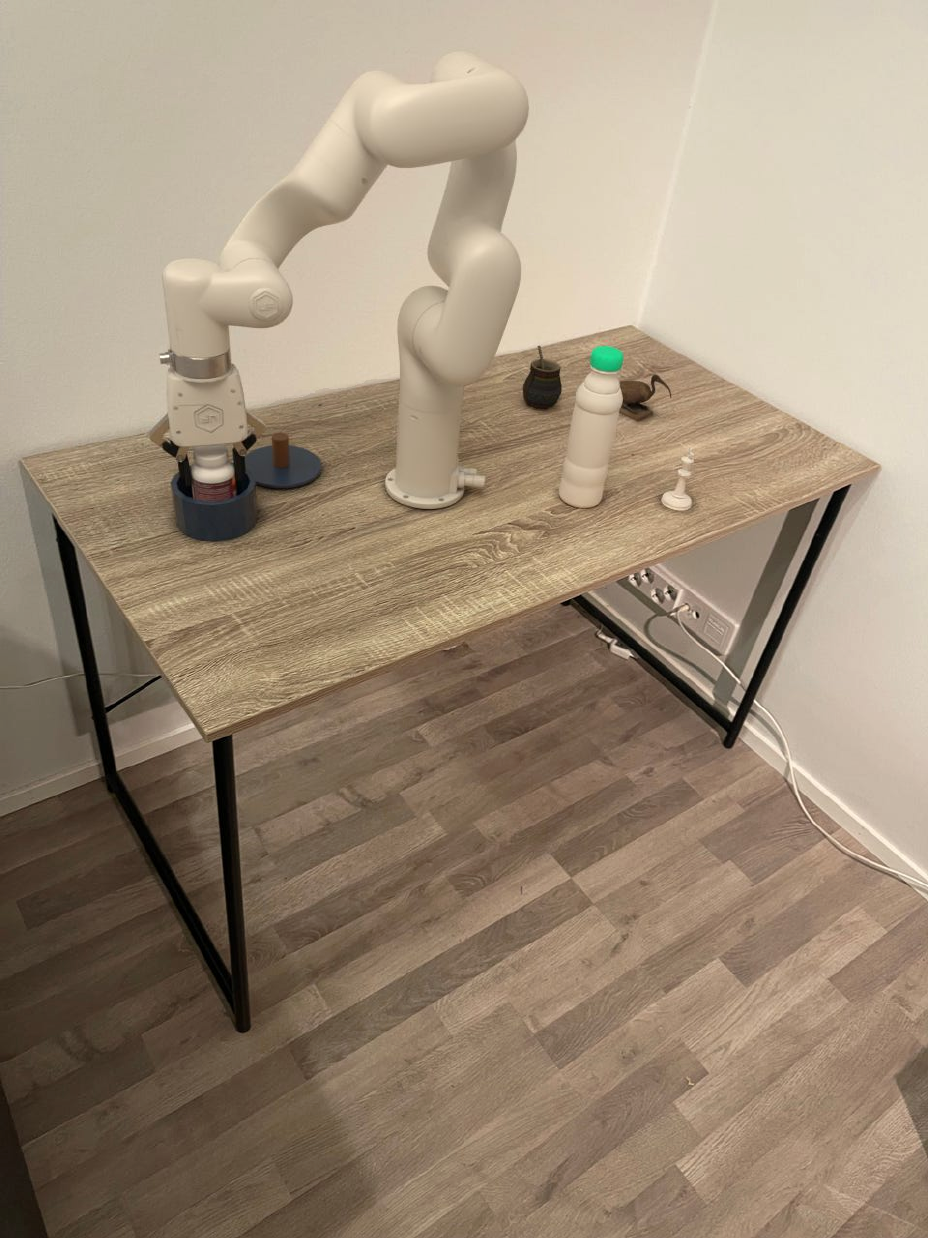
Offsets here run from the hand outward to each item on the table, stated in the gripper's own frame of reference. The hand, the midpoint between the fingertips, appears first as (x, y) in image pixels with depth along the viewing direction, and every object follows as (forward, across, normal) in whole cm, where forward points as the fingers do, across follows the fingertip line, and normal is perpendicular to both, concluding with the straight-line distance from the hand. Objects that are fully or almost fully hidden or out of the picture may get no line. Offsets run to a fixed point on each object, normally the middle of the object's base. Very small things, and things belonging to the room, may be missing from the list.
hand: (213, 477), depth 133 cm
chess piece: (+7, +72, -10) cm, 73 cm away
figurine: (+7, +80, +20) cm, 82 cm away
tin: (+7, 0, 0) cm, 7 cm away
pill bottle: (+7, 0, 0) cm, 7 cm away
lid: (+6, +12, +12) cm, 18 cm away
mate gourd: (+7, +63, +26) cm, 68 cm away
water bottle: (+7, +56, -6) cm, 57 cm away
